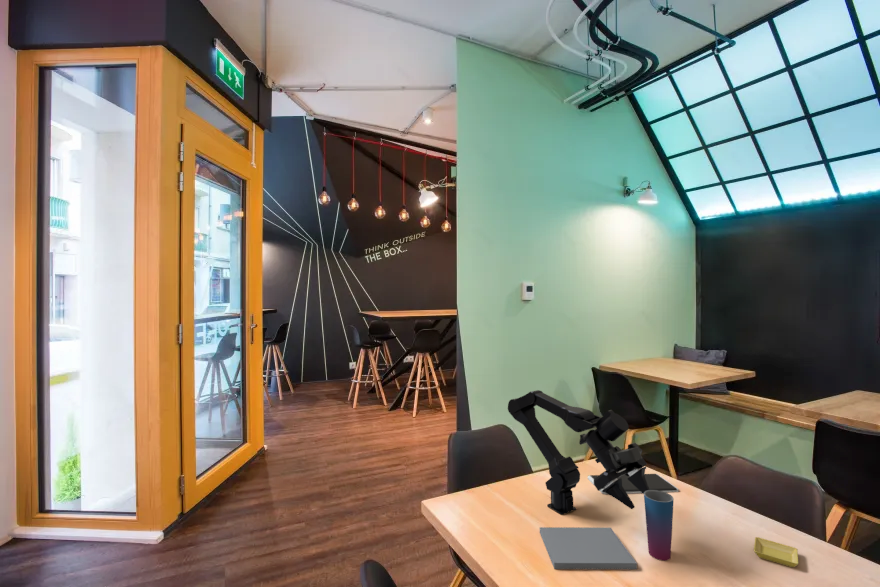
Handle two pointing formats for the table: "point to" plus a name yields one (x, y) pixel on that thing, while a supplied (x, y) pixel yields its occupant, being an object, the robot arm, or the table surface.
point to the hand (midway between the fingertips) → (642, 503)
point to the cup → (659, 523)
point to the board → (585, 548)
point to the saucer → (776, 552)
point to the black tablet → (652, 480)
